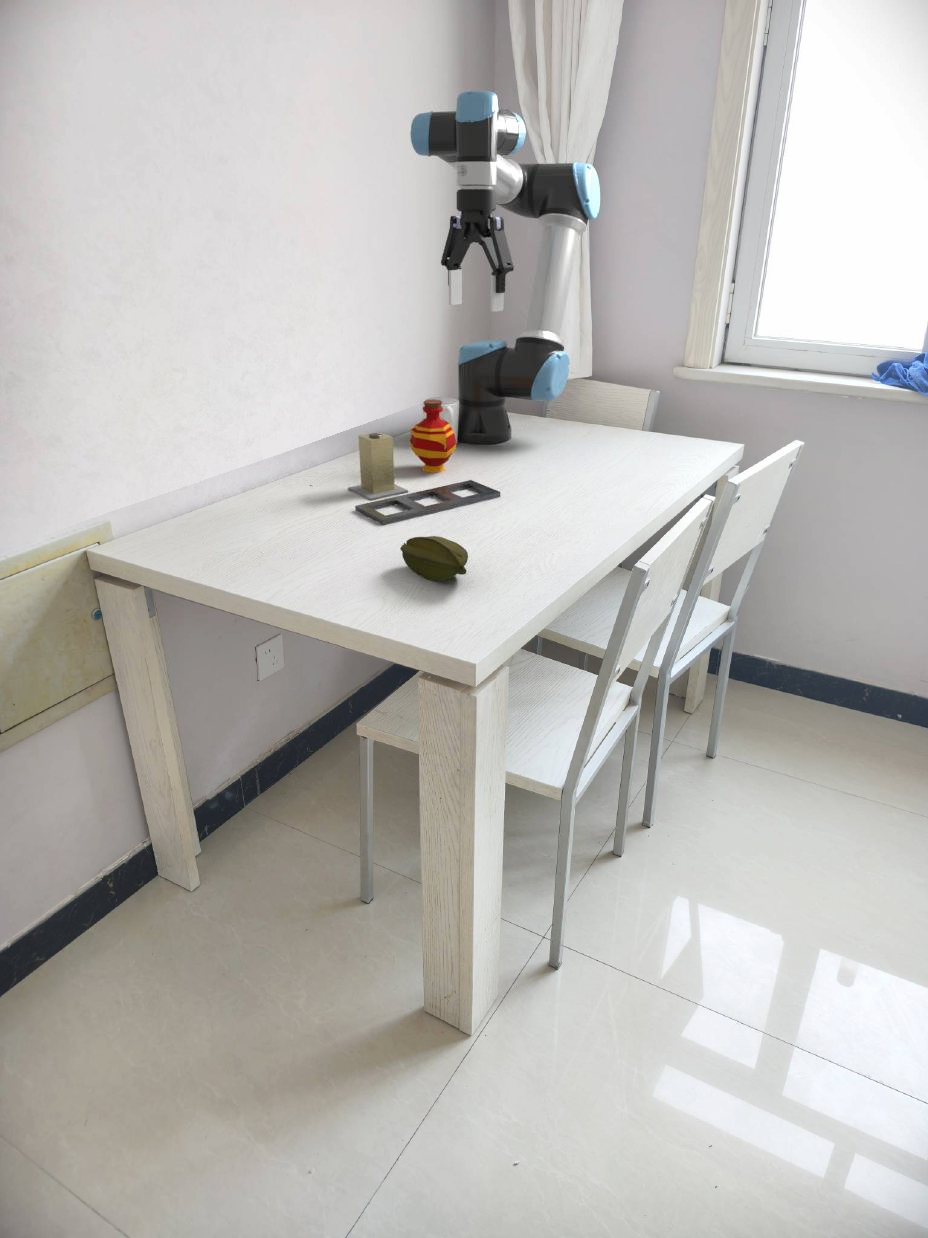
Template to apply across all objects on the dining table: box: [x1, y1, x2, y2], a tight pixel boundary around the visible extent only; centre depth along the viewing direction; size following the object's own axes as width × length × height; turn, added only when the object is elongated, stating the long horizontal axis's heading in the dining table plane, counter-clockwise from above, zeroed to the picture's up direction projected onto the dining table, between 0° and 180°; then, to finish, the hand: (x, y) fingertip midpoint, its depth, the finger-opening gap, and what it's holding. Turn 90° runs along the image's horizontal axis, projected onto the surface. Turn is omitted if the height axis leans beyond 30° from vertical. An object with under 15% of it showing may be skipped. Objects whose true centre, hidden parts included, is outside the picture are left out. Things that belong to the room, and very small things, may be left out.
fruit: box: [400, 535, 469, 582], centre depth 135 cm, size 11×12×7 cm
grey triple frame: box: [354, 479, 501, 526], centre depth 169 cm, size 10×28×1 cm, turn 127°
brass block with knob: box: [358, 431, 395, 494], centre depth 173 cm, size 5×5×11 cm
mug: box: [422, 396, 459, 445], centre depth 207 cm, size 11×9×10 cm
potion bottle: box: [408, 399, 457, 473], centre depth 187 cm, size 10×10×15 cm
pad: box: [347, 483, 409, 501], centre depth 176 cm, size 9×9×1 cm
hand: (475, 307), depth 169 cm, fingers open, 13 cm apart
